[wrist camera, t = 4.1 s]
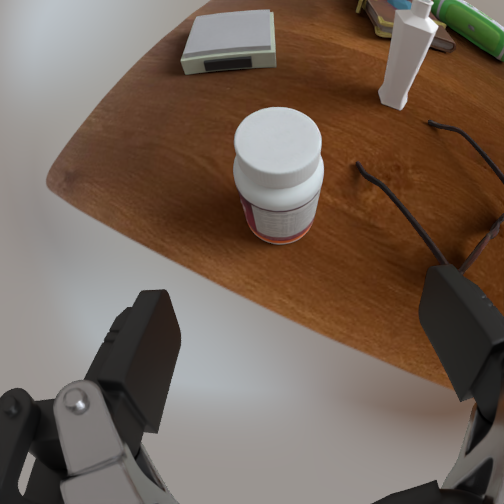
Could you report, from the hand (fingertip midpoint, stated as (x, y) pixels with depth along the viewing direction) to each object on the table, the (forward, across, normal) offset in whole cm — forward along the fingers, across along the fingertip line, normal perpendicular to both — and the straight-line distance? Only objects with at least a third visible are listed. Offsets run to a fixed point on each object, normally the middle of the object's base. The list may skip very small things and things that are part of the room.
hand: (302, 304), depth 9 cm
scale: (+38, +4, -15) cm, 41 cm away
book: (+47, -26, -24) cm, 59 cm away
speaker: (+45, -42, -21) cm, 65 cm away
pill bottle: (+19, 0, +5) cm, 19 cm away
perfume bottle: (+29, -15, -6) cm, 34 cm away
